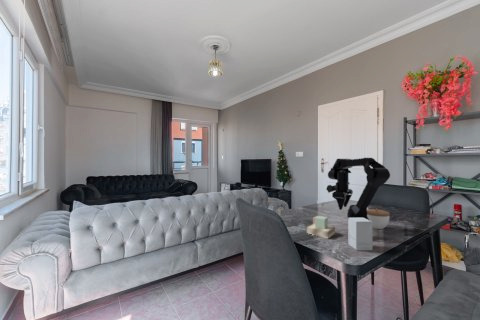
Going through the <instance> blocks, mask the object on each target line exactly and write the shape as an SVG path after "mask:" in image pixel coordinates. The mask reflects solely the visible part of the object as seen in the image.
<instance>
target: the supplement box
mask: <svg viewBox="0 0 480 320" xmlns="http://www.w3.org/2000/svg"><path fill="white" fill-rule="evenodd" d="M347 221H348V222H347V223H348V225H347V226H348V229H347V230H348V231H347V232H348V235H347V236H348V242H347V243H348V245H349V246H350V247H351V248H352V249H354V250H356V251H373V228H372V221H370V220H368V219H365V218H348V217H347Z"/></svg>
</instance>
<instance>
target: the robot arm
mask: <svg viewBox="0 0 480 320" xmlns="http://www.w3.org/2000/svg"><path fill="white" fill-rule="evenodd" d="M353 167H363V171H364V173H365V174H366V185H365V187H364V189H363V190H362V192H361V194H360V196H359V198H358V200H357V202H356V204H350V205H349V202H350V200H351V198H352V195H353V193H354V192H353V190H352V189H351V188H349V185H350V182H349V174H351V173H352V171H351V170H350V169H351V168H353ZM390 173H391V172H390V171H389V169H388V168H386V167H385V166H384V165H383V164H381V163H380V162H378V161H377V160H376V159H375V158H373V157H362V158H355V159H353V158H352V159H351V158H337V159H336V160H335V162H334V164H333V165H332V167H331V168H330V170H329V171H328V172H327V177H328V179H329V180H335V181H337V182H336V183H335V184H334V185H332V184H328V185H327V186H326V191H327V193H328V194H329V193H331V192H332V193H331V194H332V198H333V199H334V200H336V203H337V206H338V209H339V210H340V211H342V210H343V208H346V207H347V206H348V205H349V208H348V209H347V214H346V216H347V219H348V218H365V219H368V220H369V218H368V217H367V214H368V213H367V209H368V208H369V205H370V204H371V201H372V200H373V198H374V197H375V195H376V193H377V191H378V189H379V188H380V187H382V186H383V185H385V184H386V183H387V182H388V180H389V179H390V178H391V174H390Z"/></svg>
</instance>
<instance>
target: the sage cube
mask: <svg viewBox="0 0 480 320" xmlns="http://www.w3.org/2000/svg"><path fill="white" fill-rule="evenodd" d="M316 216H317V217H316V218H315V227H317V228H322V229H325V228H327V227H328V225H329V224H328V222H329V221H328V220H329V219H328V217H327V216H322V215H321V216H320V215H316Z"/></svg>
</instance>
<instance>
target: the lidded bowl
mask: <svg viewBox="0 0 480 320" xmlns="http://www.w3.org/2000/svg"><path fill="white" fill-rule="evenodd" d="M367 213H368V214H367V217H368V218H369V220H370V221H372V229H376V230H384V228H386V227H387V226H388V225H389V223H390V212H389V211H386V210H382V209H378V208H377V207H376V208H375V209H373V208H369V209H368V208H367Z"/></svg>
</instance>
